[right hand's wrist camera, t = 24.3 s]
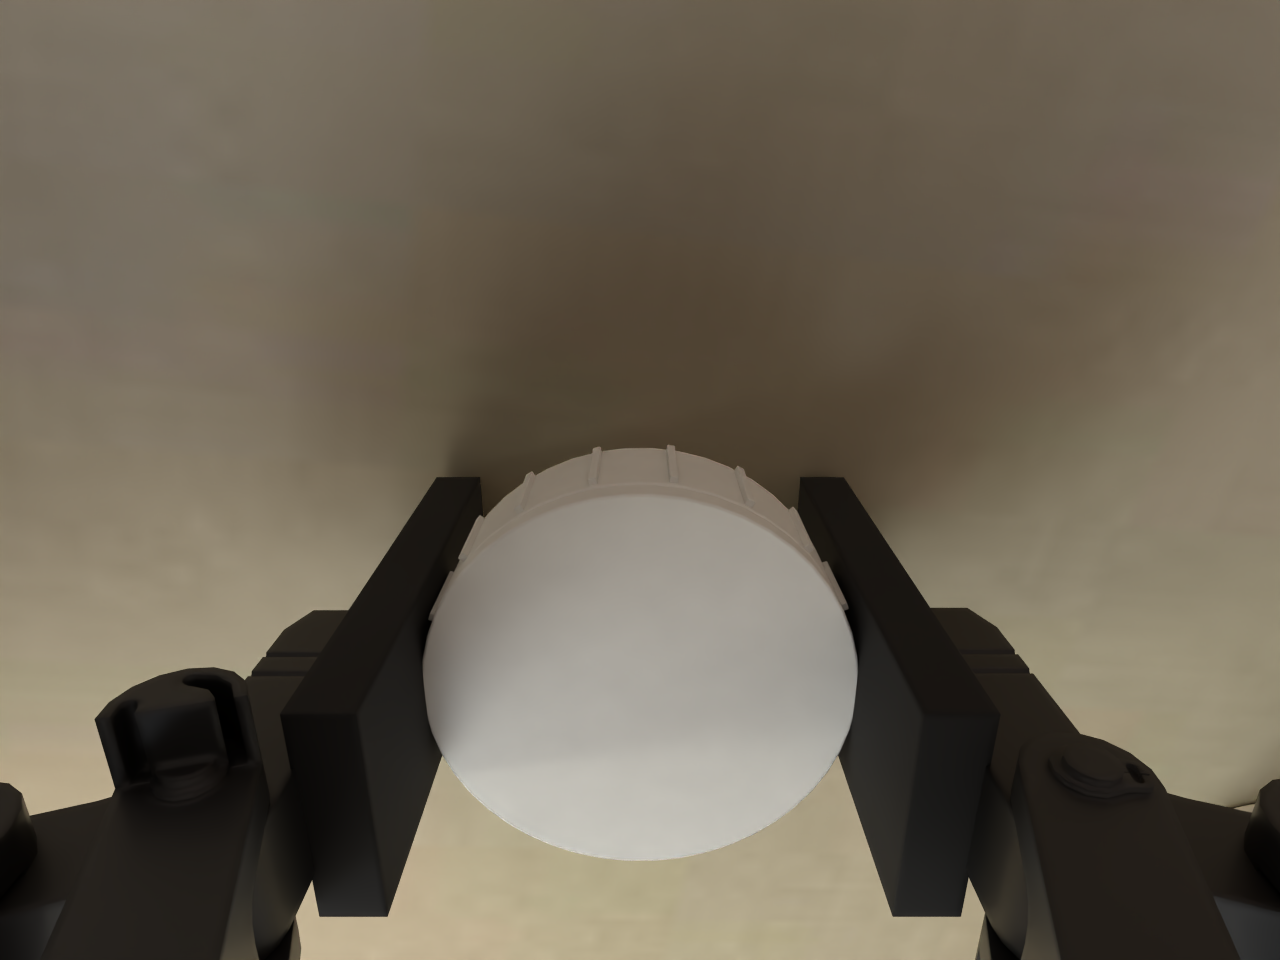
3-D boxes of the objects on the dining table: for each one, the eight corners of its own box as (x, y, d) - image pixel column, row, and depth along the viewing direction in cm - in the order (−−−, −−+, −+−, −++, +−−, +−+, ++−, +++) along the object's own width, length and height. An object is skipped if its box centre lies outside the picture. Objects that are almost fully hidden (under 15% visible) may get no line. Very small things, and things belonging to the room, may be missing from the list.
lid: (910, 636, 12) (953, 709, 10) (624, 834, 13) (622, 926, 12) (659, 355, 11) (663, 390, 9) (366, 612, 12) (322, 682, 10)
